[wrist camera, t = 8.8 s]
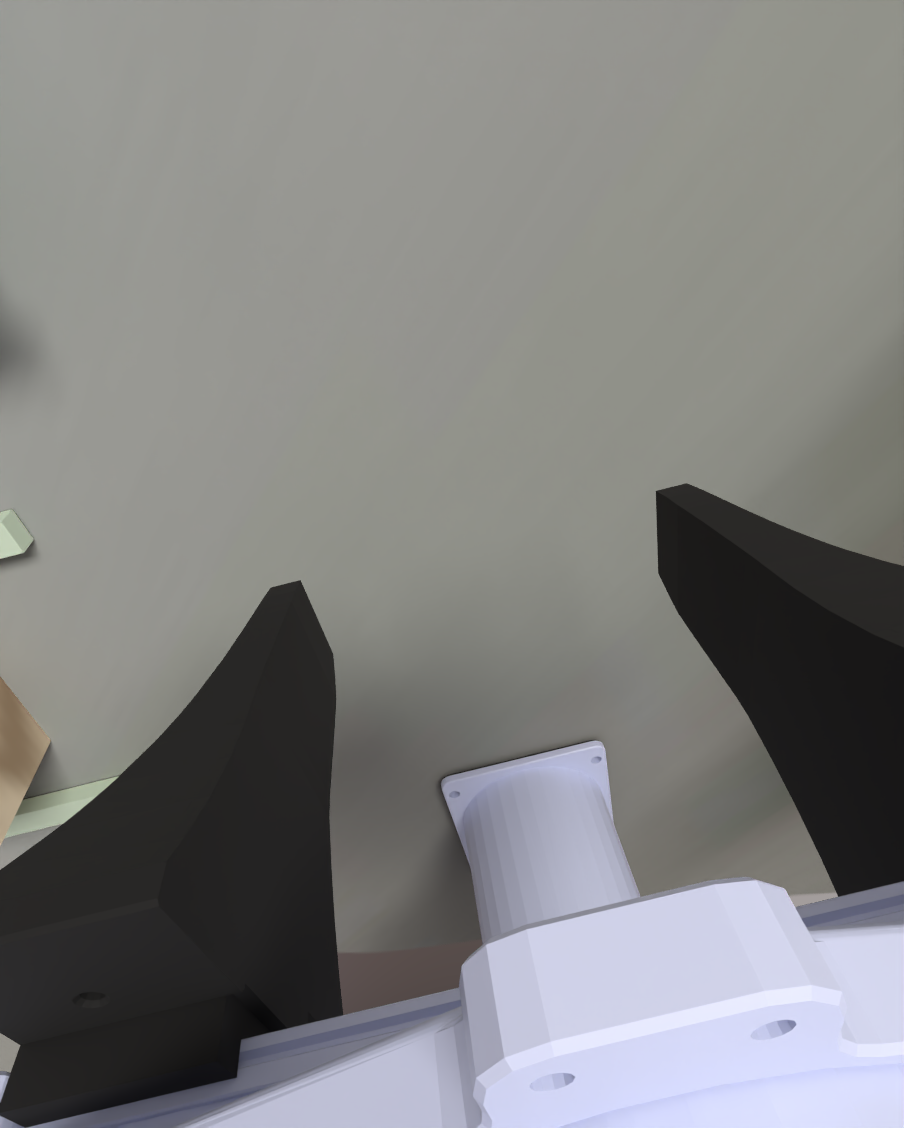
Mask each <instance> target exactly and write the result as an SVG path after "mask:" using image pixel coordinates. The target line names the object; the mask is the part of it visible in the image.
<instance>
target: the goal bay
mask: <svg viewBox="0 0 904 1128" xmlns="http://www.w3.org/2000/svg"><path fill="white" fill-rule="evenodd" d="M33 540H34V539H33V538H32V536H31V535H30V533H29V532H28V531H27V529H26V528H25V526H24V525H23V524H22V522H21V521H20V519H19V518H18V517H17V515H16V514H15V512H14V511H13V510H12V509H11V510H7V511H3V512H0V559H2V558H6V557H9V556H13V555H17V554H21V553H24V552H25V551H26V549H27V548H28V547H29V545H30V544H31V543H32V541H33ZM118 777H119V776H117V777H113V778H109V779H105V780H101V781H97V782H93V783H89V784H85V785H81V786H77V787H73V788H69V789H65V790H61V791H57V792H53V793H49V794H45V795H40V796H36V797H32V798H28V799H24V800H22V802H21V804H20V806H19V808H18V811H17V813H16V815H15V817H14V819H13V821H12V823H11V825H10V827H9V829H8V831H7V833H6V835H5V838H6V837H10V836H15V835H19V834H23V833H27V832H31V831H35V830H39V829H43V828H47V827H51V826H55V825H59V824H63V823H65V822H66V821H67V820H68V819H70V818H71V817H72V816H73V815H75V814H76V813H77V812H78V811H80V810H81V809H82V808H83V807H84V806H86V805H87V804H88V803H89V802H90V801H92V800H93V799H94V798H95V797H96V796H97V795H99V794H100V793H101V792H102V791H103V790H104V789H106V788H107V787H108V786H109V785H110V784H111V783H112V782H114V781H115V780H116V779H117V778H118Z"/></svg>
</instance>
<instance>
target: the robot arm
mask: <svg viewBox="0 0 904 1128" xmlns="http://www.w3.org/2000/svg"><path fill="white" fill-rule="evenodd" d="M656 509H657V542H658V573H659V575H660V577H661V579H662V582H663V584H664V586H665V588H666V590H667V592H668V594H669V596H670V598H671V600H672V602H673V604H674V606H675V608H676V610H677V611H678V613H679V615H680V616H681V618H682V619H683V621H684V622H685V624H686V625H687V627H688V628H689V630H690V631H691V633H692V634H693V635H694V637H695V638H696V640H697V641H698V643H699V644H700V646H701V647H702V648H703V650H704V651H705V653H706V654H707V656H708V657H709V658H710V660H711V661H712V663H713V664H714V666H715V667H716V668H717V670H718V671H719V673H720V674H721V676H722V677H723V678H724V680H725V681H726V683H727V684H728V686H729V687H730V688H731V690H732V691H733V693H734V694H735V696H736V697H737V699H738V700H739V702H740V703H741V705H742V707H743V708H744V710H745V711H746V713H747V715H748V716H749V718H750V720H751V722H752V723H753V725H754V727H755V729H756V731H757V733H758V735H759V736H760V738H761V740H762V742H763V744H764V746H765V747H766V749H767V751H768V753H769V755H770V757H771V758H772V760H773V762H774V764H775V766H776V768H777V770H778V772H779V774H780V776H781V778H782V780H783V782H784V784H785V786H786V788H787V790H788V791H789V793H790V795H791V797H792V799H793V801H794V803H795V805H796V807H797V809H798V811H799V813H800V816H801V818H802V820H803V822H804V824H805V826H806V828H807V830H808V832H809V834H810V836H811V838H812V840H813V842H814V845H815V847H816V849H817V851H818V853H819V855H820V857H821V859H822V861H823V864H824V866H825V868H826V870H827V872H828V875H829V877H830V879H831V881H832V883H833V886H834V888H835V890H836V892H837V894H838V897H836V898H832V899H827V900H823V901H819V902H815V903H811V904H806V905H802V906H798V907H794V905H793V903H792V901H791V899H790V898H789V896H788V894H787V892H786V890H785V889H784V888H782V887H779V886H776V885H773V884H770V883H767V882H763V881H760V880H757V879H753V878H750V877H738V878H728V879H719V880H709V881H705V882H701V883H697V884H693V885H688V886H684V887H680V888H676V889H672V890H668V891H663V892H659V893H655V894H651V895H647V896H643V897H640V894H639V891H638V889H637V886H636V883H635V880H634V878H633V875H632V872H631V870H630V867H629V864H628V862H627V859H626V856H625V853H624V851H623V848H622V845H621V843H620V840H619V837H618V835H617V832H616V829H615V826H614V822H613V813H612V805H611V796H610V787H609V778H608V769H607V761H606V752H605V748H604V746H603V743H602V742H600V741H590V742H586V743H582V744H578V745H573V746H569V747H565V748H561V749H557V750H553V751H549V752H545V753H541V754H537V755H533V756H529V757H524V758H520V759H516V760H512V761H508V762H504V763H500V764H496V765H492V766H488V767H484V768H479V769H475V770H471V771H467V772H463V773H459V774H455V775H451V776H448V777H445V778H444V779H443V780H442V782H441V787H442V792H443V794H444V797H445V800H446V802H447V805H448V808H449V811H450V813H451V816H452V819H453V821H454V824H455V827H456V830H457V832H458V835H459V838H460V840H461V843H462V846H463V849H464V851H465V854H466V857H467V859H468V862H469V865H470V868H471V874H472V880H473V886H474V893H475V899H476V905H477V911H478V918H479V924H480V930H481V937H482V943H483V945H482V946H481V947H479V948H478V949H477V950H476V951H475V952H474V953H472V954H471V955H470V956H469V957H468V958H467V959H466V961H465V962H464V963H463V965H462V967H461V974H460V982H459V988H455V989H451V990H447V991H443V992H438V993H434V994H430V995H426V996H421V997H418V998H413V999H409V1000H405V1001H400V1002H397V1003H392V1004H388V1005H384V1006H379V1007H375V1008H371V1009H367V1010H363V1011H359V1012H354V1013H350V1014H346V1015H343V1009H342V999H341V989H340V981H339V970H338V956H337V944H336V931H335V919H334V903H333V887H332V870H331V848H330V823H329V809H330V786H331V771H332V757H333V743H334V728H335V712H336V685H335V671H334V659H333V653H332V651H331V648H330V646H329V644H328V641H327V639H326V637H325V635H324V632H323V630H322V628H321V626H320V623H319V621H318V619H317V617H316V614H315V612H314V610H313V608H312V605H311V603H310V601H309V599H308V596H307V594H306V592H305V589H304V587H303V585H302V583H301V580H300V581H296V582H292V583H288V584H284V585H280V586H276V587H272V588H270V590H269V591H268V592H267V594H266V595H265V597H264V598H263V600H262V601H261V603H260V604H259V606H258V607H257V609H256V611H255V612H254V614H253V615H252V617H251V618H250V620H249V621H248V623H247V624H246V626H245V628H244V629H243V631H242V632H241V634H240V635H239V636H238V638H237V639H236V641H235V642H234V644H233V645H232V647H231V648H230V650H229V651H228V653H227V654H226V656H225V657H224V659H223V660H222V661H221V663H220V664H219V665H218V667H217V668H216V669H215V671H214V672H213V673H212V675H211V676H210V677H209V679H208V680H207V681H206V682H205V684H204V685H203V686H202V688H201V689H200V690H199V692H198V693H197V694H196V696H195V697H194V698H193V699H192V701H191V702H190V703H189V704H188V705H187V707H186V708H185V709H184V710H183V711H182V713H181V714H180V715H179V716H178V717H177V718H176V719H175V720H174V722H173V723H172V724H171V725H170V726H169V727H168V728H167V729H166V730H165V731H164V733H163V734H162V735H161V736H160V737H159V738H158V739H157V740H156V741H155V742H154V743H153V744H152V745H151V746H150V747H149V748H148V749H147V750H146V751H145V752H144V753H143V754H142V755H141V756H140V757H139V758H138V759H137V760H135V761H134V762H133V763H132V764H131V765H130V766H129V767H128V768H127V769H126V770H125V771H124V772H123V773H122V774H121V775H120V776H119V777H118V778H117V779H116V780H115V781H114V782H112V783H111V784H110V785H109V786H108V787H107V788H106V789H104V790H103V791H102V792H101V793H100V794H99V795H97V796H96V797H95V798H94V799H93V800H92V801H90V802H89V803H88V804H87V805H86V806H84V807H83V808H82V809H81V810H80V811H78V812H77V813H76V814H75V815H73V816H72V817H71V818H70V819H68V820H67V821H66V822H65V823H63V824H62V825H61V826H60V827H58V828H57V829H56V830H54V831H53V832H52V833H51V834H49V835H48V836H47V837H45V838H44V839H42V840H41V841H40V842H38V843H37V844H36V845H34V846H33V847H31V848H30V849H29V850H27V851H26V852H25V853H23V854H22V855H20V856H19V857H18V858H16V859H15V860H13V861H12V862H11V863H9V864H8V865H7V866H5V867H4V868H2V869H1V870H0V1033H1V1034H3V1035H5V1036H6V1037H8V1038H10V1039H11V1040H13V1041H15V1042H16V1043H18V1044H20V1048H19V1051H18V1054H17V1057H16V1060H15V1062H14V1065H13V1068H12V1071H11V1073H9V1072H6V1071H0V1128H904V566H901V565H897V564H893V563H889V562H886V561H882V560H879V559H875V558H872V557H869V556H865V555H862V554H858V553H855V552H852V551H848V550H845V549H842V548H839V547H836V546H833V545H830V544H827V543H825V542H822V541H819V540H817V539H814V538H811V537H809V536H806V535H803V534H801V533H798V532H796V531H793V530H791V529H788V528H786V527H783V526H781V525H779V524H776V523H774V522H772V521H769V520H767V519H765V518H762V517H760V516H758V515H756V514H753V513H751V512H749V511H747V510H745V509H742V508H740V507H738V506H736V505H734V504H732V503H730V502H727V501H725V500H723V499H721V498H719V497H717V496H714V495H712V494H710V493H708V492H706V491H704V490H701V489H699V488H697V487H694V486H692V485H689V484H687V483H686V484H682V485H678V486H674V487H670V488H666V489H662V490H658V491H656Z"/></svg>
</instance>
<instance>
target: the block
mask: <svg viewBox="0 0 904 1128" xmlns="http://www.w3.org/2000/svg"><path fill="white" fill-rule="evenodd" d="M50 742H51V740H50V739H49V738H48V736H47V735H46V734H45V732H44V731H43V730H42V729H41V727H40V726H39V725H38V724H37V722H36V721H35V720H34V719H33V717H32V716H31V715H30V714H29V712H28V711H27V710H26V708H25V707H24V706H23V705H22V703H21V702H20V701H19V700H18V698H17V697H16V696H15V695H14V693H13V692H12V691H11V689H10V688H9V687H8V686H7V684H6V683H5V682H4V681H3V679H2V678H1V677H0V846H1V844H2V842H3V840H4V838H5V835H6V833H7V831H8V829H9V827H10V825H11V823H12V821H13V819H14V817H15V815H16V813H17V811H18V808H19V806H20V804H21V802H22V800H23V798H24V796H25V794H26V792H27V790H28V788H29V786H30V783H31V781H32V779H33V777H34V775H35V773H36V771H37V769H38V767H39V765H40V763H41V761H42V758H43V756H44V754H45V752H46V750H47V748H48V746H49V744H50Z"/></svg>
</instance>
